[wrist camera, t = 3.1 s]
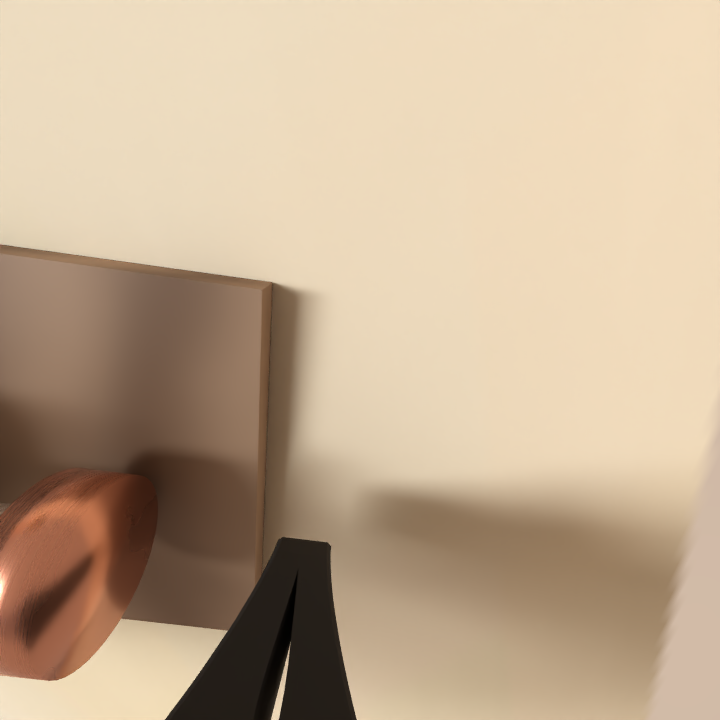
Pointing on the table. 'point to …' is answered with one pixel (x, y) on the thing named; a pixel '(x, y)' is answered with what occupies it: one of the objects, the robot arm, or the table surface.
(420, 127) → the table surface
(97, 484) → the shaft
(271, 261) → the table surface
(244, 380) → the base plate
